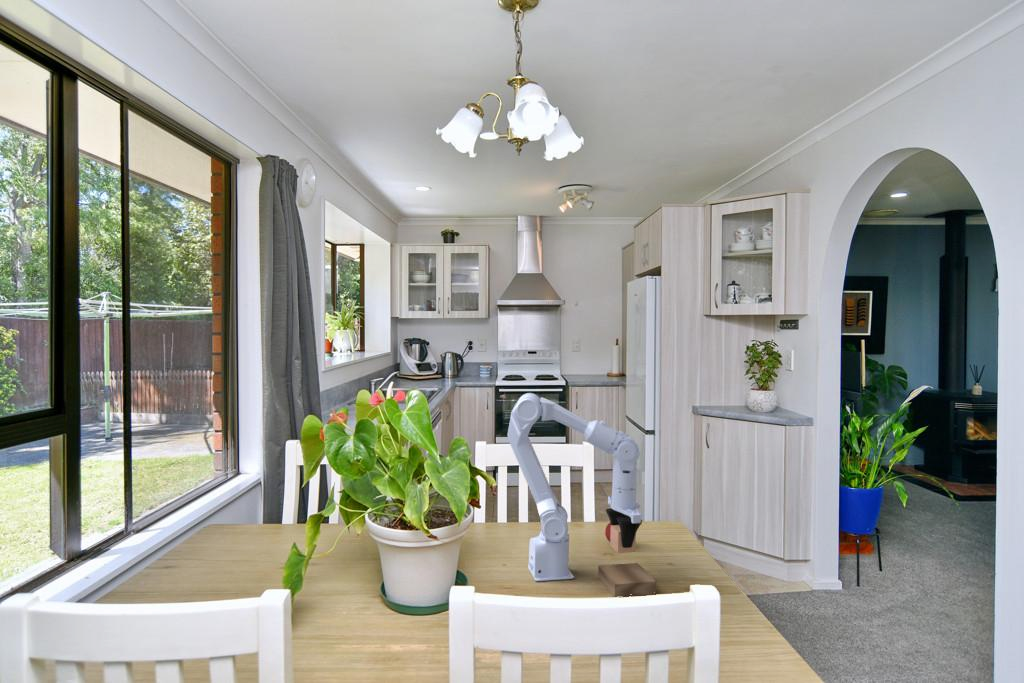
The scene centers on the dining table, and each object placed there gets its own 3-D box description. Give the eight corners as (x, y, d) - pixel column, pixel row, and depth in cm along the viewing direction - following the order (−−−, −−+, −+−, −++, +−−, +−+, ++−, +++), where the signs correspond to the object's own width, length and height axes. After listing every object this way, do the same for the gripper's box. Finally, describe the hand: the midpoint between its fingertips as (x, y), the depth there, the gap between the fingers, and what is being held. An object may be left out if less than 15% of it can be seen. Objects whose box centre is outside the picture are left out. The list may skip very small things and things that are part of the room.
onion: (625, 551, 148) (626, 521, 148) (604, 548, 149) (605, 519, 149) (625, 543, 153) (626, 514, 153) (605, 541, 155) (606, 513, 154)
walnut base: (614, 597, 121) (614, 584, 121) (598, 577, 131) (598, 565, 131) (655, 594, 123) (656, 581, 123) (636, 575, 133) (637, 562, 133)
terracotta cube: (617, 553, 129) (618, 532, 129) (610, 545, 133) (610, 525, 133) (635, 552, 130) (635, 531, 130) (627, 544, 134) (627, 524, 134)
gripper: (653, 495, 125) (652, 554, 125) (626, 478, 139) (625, 531, 139) (625, 496, 123) (623, 556, 123) (600, 479, 137) (599, 532, 138)
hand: (622, 543), depth 131 cm, fingers closed on terracotta cube, 4 cm apart
